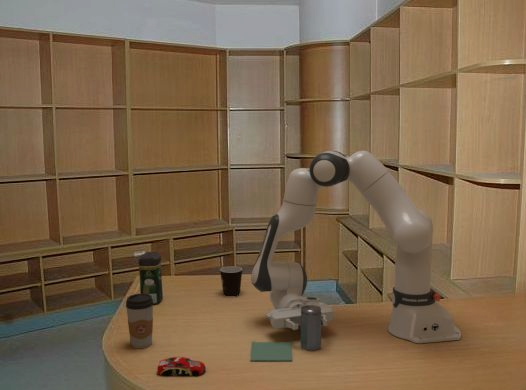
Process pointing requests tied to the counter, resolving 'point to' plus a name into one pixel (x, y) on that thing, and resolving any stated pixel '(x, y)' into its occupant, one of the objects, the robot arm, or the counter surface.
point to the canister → (310, 327)
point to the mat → (271, 352)
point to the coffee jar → (151, 275)
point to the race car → (180, 367)
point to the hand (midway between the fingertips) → (310, 325)
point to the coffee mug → (231, 280)
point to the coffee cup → (140, 319)
